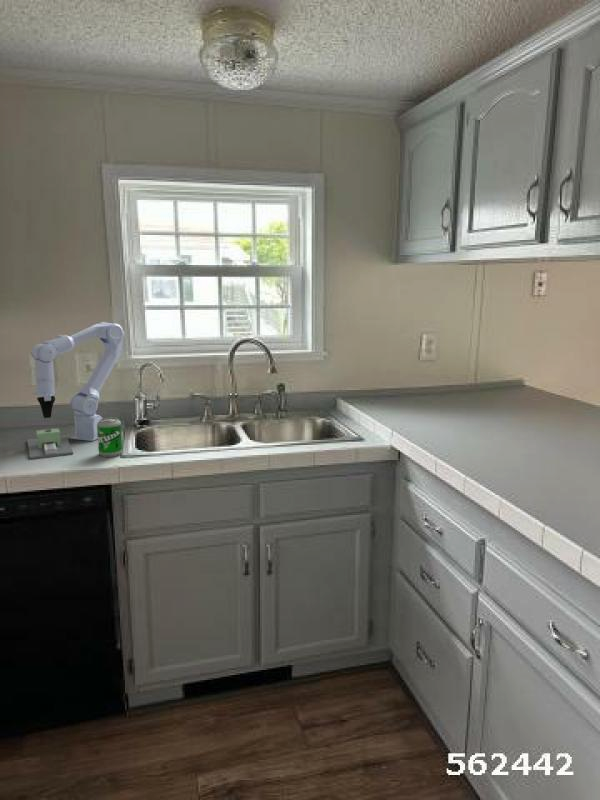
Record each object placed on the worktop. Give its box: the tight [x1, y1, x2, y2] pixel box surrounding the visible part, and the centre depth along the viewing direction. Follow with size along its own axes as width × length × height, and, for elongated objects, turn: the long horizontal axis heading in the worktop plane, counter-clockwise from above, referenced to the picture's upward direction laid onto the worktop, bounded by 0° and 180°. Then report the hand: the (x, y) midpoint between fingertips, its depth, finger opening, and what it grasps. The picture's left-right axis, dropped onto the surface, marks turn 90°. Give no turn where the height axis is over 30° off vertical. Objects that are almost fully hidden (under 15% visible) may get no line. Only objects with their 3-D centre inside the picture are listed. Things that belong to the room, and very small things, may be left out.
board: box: [26, 435, 74, 460], centre depth 189 cm, size 13×22×2 cm, turn 28°
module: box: [36, 428, 61, 449], centre depth 189 cm, size 7×5×6 cm
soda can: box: [97, 417, 123, 458], centre depth 182 cm, size 8×8×12 cm
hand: (47, 417), depth 191 cm, fingers closed
